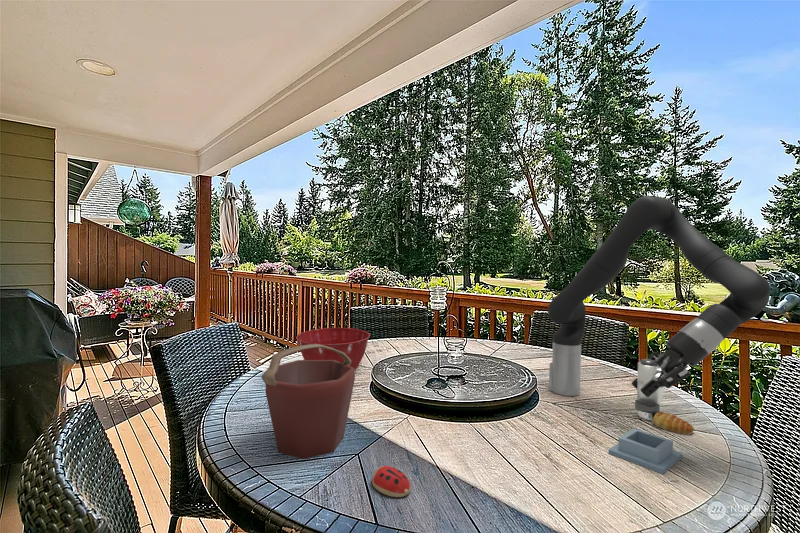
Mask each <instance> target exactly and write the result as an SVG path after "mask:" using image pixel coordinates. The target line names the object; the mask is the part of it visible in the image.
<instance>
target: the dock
mask: <svg viewBox="0 0 800 533" xmlns="http://www.w3.org/2000/svg"><path fill="white" fill-rule="evenodd" d="M673 449H674V440H672V439H668V438H666V437H663V436H659V435H657V434H653V433H650V432H647V431H643V430H641V429H638V428H633V429H631V430H629V431H627V432H626V433H624V434H623V435H621V436H619V437H618V443H616V444H615V445H613V446H612V447H610V448H609V449H608V452H607V454H609V455H611V456H614V457H616V458H620V459H622V460H625V461H628V462H630V463H632V464H635V465H638V466H640V467H643V468H646V469H648V470H651V471H653V472H656V473H657V474H661V475H664V474H665V473H666V472H667V471H669V470H670V468H672V467H673V466H674V465H675V464H677V463H678V462H679V461H680V460H681V459H683V456H684V455H683V453H682V452H679V451H676V450H673Z"/></svg>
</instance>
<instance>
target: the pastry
mask: <svg viewBox="0 0 800 533" xmlns="http://www.w3.org/2000/svg"><path fill="white" fill-rule="evenodd" d="M652 424H653V425H654V426H655V428H656V427H657V428H661V429H662V430H664V431H667V432H672V433H675V434H678V435H679V434H680V435H691V434H693V433H694V430H695V428H694V426H693V425H692V424H690V423H689V422H688V421H686V420H684V419H683V418H680V417H678V416H677V415H676V414H672V413H669V412H663V411H662V410H661V411H660V412H659V413H656V414H655V416H654V418H653V421H652Z"/></svg>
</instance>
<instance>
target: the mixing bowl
mask: <svg viewBox="0 0 800 533" xmlns="http://www.w3.org/2000/svg"><path fill="white" fill-rule="evenodd" d="M370 336H371V334H370V333H369V332H368V331H365V330H363V329H357V328H351V327H323V328H315V329H310V330H306V331H303V332H300V333H299V334H297V335H296V337H295V338H296V340H297V342H298V346H302V345H309V344H320V345H324V346H327V347H331V348H334V349H336V350H339V351H341V352H344V353H345V354H346V355H347V356H348V357H349V358H350V359H351V364H350V366H351V367H353V368H355V371H356V370H357V369H358V368H359V365H360V363H361V362H362V360H363V357H364V355H365V353H366V350H367V346H368V341H369V338H370ZM300 353H301V355H302V358H303V360H336V361H338V362H341V363H343V362H344V359H343V358H342V357H341V356H340V355H339V354H338V353H337V352H334V351H331V350H328V349H324V348H311V349H306V350H302V351H300Z"/></svg>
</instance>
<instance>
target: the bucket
mask: <svg viewBox="0 0 800 533" xmlns="http://www.w3.org/2000/svg"><path fill="white" fill-rule="evenodd" d="M311 348H324V349H328V350H331V351H334V352H337V353H338V354H339V355H340V356H341V357H342V358H343V359H344V362H343V363H341V362H338V361H336V360H304V359H298V360H294V361H289V362H286V363H282V364H281V361H282V359H284V358H286V357H288V356H290V355H292V354H295V353H298V352H301V351H302V350H306V349H311ZM269 362H270V363H269V366H268V368H267V369H266V370H265V371H264V372H263V374H262V375H261V379H262V380H263V382H264V384H265V395H266V402H267V405H268V411H269V415H270V420H271V424H272V429H273V434H274V438H275V443H276V447H277V453H278V454H281V455H286V456H291V457H295V458H298V459H302V460H305V459H308V458H309V459H310V458H312V457H317V456H322V455H326V454H330V453H335V451H336V450H337V448H338V447H339V445H340V443H341V442H342V441H343V439H344V438H345V432H346V426H347V422H348V416H349V410H350V408H351V401H352V395H353V390H354V385H355V378H356V377H355V373H356V372H355V371H356V370H355V368H353V367H351V366H350V364H351V359H350V358H349V357H348V356H347V355H346V354H345V353H344V352H341V351H339V350H336V349H334V348H331V347H327V346H324V345H320V344H309V345H302V346H299V345H297V346H293V347H289V348H287V349H284V350H283V349H282V350H281V351H278V352H277V353H275V354H273V355H272V356H271V358H270V361H269Z"/></svg>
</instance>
